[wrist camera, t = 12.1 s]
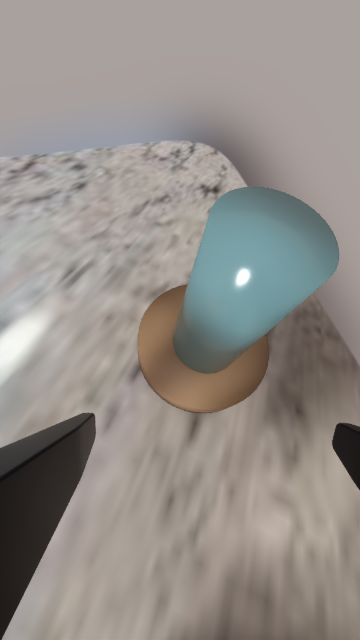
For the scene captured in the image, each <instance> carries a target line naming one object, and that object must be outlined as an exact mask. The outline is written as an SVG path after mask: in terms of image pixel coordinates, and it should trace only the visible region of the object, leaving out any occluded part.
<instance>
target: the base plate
mask: <svg viewBox="0 0 360 640" xmlns="http://www.w3.org/2000/svg"><path fill="white" fill-rule="evenodd" d="M187 286H188V285H183V286H178V287H176V288H173V289H171V290H168V291H166V292H165V293H163V294H162V295H160V296H159V297H158V298H157V299H155V300H154V301H153V302H152V304H151V305H150V306H149V307H148V309H147V310H146V312H145V313H144V316H143V318H142V320H141V323H140V326H139V332H138V358H139V364H140V367H141V370H142V373H143V375H144V377H145V379H146V381H147V382H148V384H149V386H150V387H151V388H152V389H153V390H154V392H155V393H156V394H157V395H158V396H160V397H161V398H162V399H163V400H165V401H166V402H167V403H169V404H171V405H173V406H174V407H176V408H179V409H182V410H184V411H189V412H193V413H212V412H217V411H220V410H223V409H226V408H228V407H231V406H233V405H235V404H237V403H239V402H241V401H243V400H244V399H246V398H247V397H248V396H250V395H251V394H252V393H253V392H254V391H255V390H256V389H257V387H258V386H259V384H260V383H261V381H262V379H263V377H264V375H265V372H266V369H267V366H268V360H269V347H268V340H267V336H266V334H265V335H264V336H263V337H262V338H260V339H259V340H258V341H257V342H256V343H255V344H254V345H252V346H251V347H250V348H249V349H248V350H247V351H246V352H244V353H243V354H242V355H241V356H240V357H239V358H238V359H236V360H235V361H234V362H233V363H232V364H231V365H230V366H228V367H227V368H226V369H224V370H222V371H220V372H217V373H212V374H205V373H199V372H196V371H194V370H192V369H190V368H188V367H187V366H186V365H184V364H183V363H182V362H181V361H180V359H179V358H178V356H177V355H176V353H175V350H174V347H173V341H172V337H173V331H174V328H175V325H176V321H177V318H178V315H179V312H180V308H181V305H182V302H183V299H184V295H185V292H186V289H187Z"/></svg>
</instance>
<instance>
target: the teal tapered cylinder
mask: <svg viewBox="0 0 360 640" xmlns="http://www.w3.org/2000/svg"><path fill="white" fill-rule="evenodd" d="M338 261H339V248H338V244H337V240H336V238H335V236H334V233H333V232H332V230H331V228H330V227H329V225H328V224H327V223H326V221H325V220H324V219H323V218H322V217H321V216H320V215H319V214H318V213H317V212H316V211H315V210H314V209H312V208H311V207H310V206H308V205H307V204H305V203H304V202H302V201H301V200H299V199H297V198H295V197H293V196H291V195H289V194H286V193H284V192H281V191H278V190H274V189H269V188H263V187H244V188H239V189H235V190H232V191H229V192H228V193H226V194H224V195H222V196H221V197H220V198H219V199H218V200H217V201H216V202H215V203H214V205H213V206H212V208H211V211H210V214H209V217H208V220H207V223H206V227H205V230H204V233H203V237H202V240H201V243H200V246H199V250H198V253H197V256H196V259H195V263H194V266H193V269H192V272H191V276H190V279H189V282H188V286H187V289H186V292H185V295H184V299H183V302H182V305H181V308H180V312H179V315H178V318H177V321H176V325H175V328H174V331H173V337H172V341H173V347H174V350H175V353H176V355H177V356H178V358H179V359H180V361H181V362H182V363H183V364H184V365H186V366H187V367H188V368H190V369H192V370H194V371H196V372H199V373H205V374H212V373H217V372H220V371H222V370H224V369H226V368H227V367H228V366H230V365H231V364H232V363H233V362H234V361H235V360H236V359H238V358H239V357H240V356H241V355H242V354H243V353H244V352H246V351H247V350H248V349H249V348H250V347H251V346H252V345H254V344H255V343H256V342H257V341H258V340H259V339H260V338H262V337H263V336H264V335H265V334H266V333H267V332H268V331H270V330H271V329H272V328H273V327H274V326H275V325H276V324H278V323H279V322H280V321H281V320H282V319H283V318H284V317H286V316H287V315H288V314H289V313H290V312H291V311H292V310H294V309H295V308H296V307H297V306H298V305H299V304H300V303H302V302H303V301H304V300H305V299H306V298H307V297H308V296H310V295H311V294H312V293H313V292H314V291H315V290H316V289H318V288H319V287H320V286H321V285H322V284H323V283H324V282H326V281H327V280H328V279H329V278H330V277H331V276H332V274H333V273H334V272H335V270H336V268H337V265H338Z"/></svg>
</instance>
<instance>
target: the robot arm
mask: <svg viewBox="0 0 360 640" xmlns="http://www.w3.org/2000/svg"><path fill="white" fill-rule="evenodd" d="M95 435H96V427H95V415H94V414H93V413H82V414H80V415H77V416H75V417H73V418H70V419H68V420H65V421H63V422H61V423H58V424H56V425H54V426H51V427H49V428H47V429H44V430H42V431H40V432H37V433H35V434H32V435H30V436H28V437H25V438H23V439H21V440H18V441H16V442H14V443H11V444H9V445H7V446H4V447H2V448H0V640H2V638H3V635H4V633H5V631H6V629H7V627H8V625H9V623H10V621H11V619H12V617H13V615H14V613H15V611H16V609H17V607H18V605H19V603H20V601H21V599H22V597H23V595H24V593H25V591H26V589H27V587H28V585H29V583H30V581H31V579H32V577H33V575H34V573H35V570H36V568H37V566H38V564H39V562H40V560H41V558H42V556H43V554H44V552H45V550H46V548H47V546H48V544H49V542H50V540H51V538H52V536H53V534H54V532H55V530H56V528H57V526H58V524H59V522H60V520H61V518H62V516H63V514H64V512H65V510H66V507H67V505H68V503H69V501H70V499H71V497H72V495H73V493H74V491H75V489H76V487H77V485H78V483H79V481H80V479H81V477H82V474H83V471H84V469H85V466H86V463H87V460H88V457H89V455H90V452H91V449H92V446H93V443H94V440H95ZM332 445H333V449H334V451H335V452H336V454H337V455H338V457H339V459H340V460H341V462H342V464H343V465H344V467H345V468H346V470H347V472H348V473H349V475H350V476H351V478H352V480H353V481H354V483H355V484H356V486H357V487H358V489H359V490H360V427H358V426H355V425H352V424H349V423H338V424H337V425H336V428H335V432H334V436H333V440H332Z"/></svg>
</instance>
